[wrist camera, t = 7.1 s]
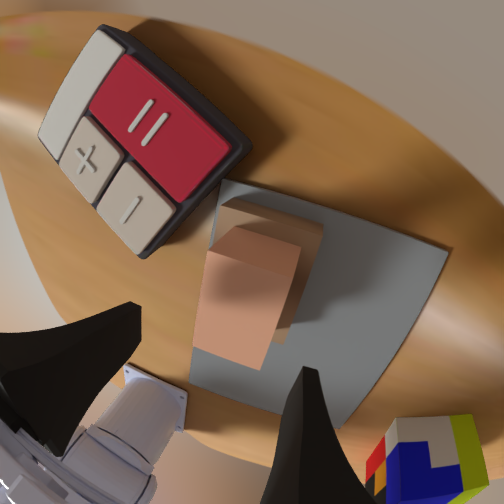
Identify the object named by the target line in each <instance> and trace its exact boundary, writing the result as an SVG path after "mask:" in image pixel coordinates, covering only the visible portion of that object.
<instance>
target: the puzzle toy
mask: <svg viewBox="0 0 504 504" xmlns="http://www.w3.org/2000/svg"><path fill="white" fill-rule="evenodd" d="M488 485H489V480H488V475H487V470H486V465H485V461H484V456H483V452H482V448H481V444H480V440H479V437H478V433H477V430H476V426H475V423H474V420H473V416H472V414H463V415H452V416H436V417H396V418H395V419H394V421H393V423H392V424H391V426H390V427H389V429H388V431H387V432H386V434H385V435H384V437H383V438H382V440H381V441H380V443H379V444H378V446H377V447H376V449H375V450H374V452H373V453H372V454H371V456H370V457H369V459H368V460H367V461H366V484H365V489H366V490H367V492H368V493H369V494H370V496H371V497H372V498H373V499H374V500H375V502H376V503H377V504H464V503H465V502H467V501H468V500H470V499H471V498H472V497H474V496H475V495H477V494H478V493H479V492H480V491H482V490H483V489H484V488H486V487H487V486H488Z"/></svg>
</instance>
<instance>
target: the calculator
mask: <svg viewBox="0 0 504 504" xmlns="http://www.w3.org/2000/svg"><path fill="white" fill-rule="evenodd" d="M38 138H39V140H40V141H41V142H42V144H43V145H44V147H45V148H46V149H47V151H48V152H49V153H50V154H51V156H52V157H53V158H54V160H55V161H56V162H57V164H58V165H59V166H60V168H61V169H62V170H63V172H64V173H65V174H66V175H67V177H68V178H69V179H70V180H71V182H72V183H73V184H74V185H75V187H76V188H77V189H78V190H79V191H80V193H81V194H82V195H83V196H84V197H85V199H86V200H87V201H88V202H89V203H90V204H91V205H92V206H93V207H94V209H95V210H96V211H97V212H98V214H99V215H100V216H101V217H102V218H103V219H104V221H105V222H106V223H107V224H108V225H109V226H110V227H111V228H112V229H113V231H114V232H115V233H116V234H117V235H118V236H119V237H120V238H121V239H122V240H123V241H124V243H125V244H126V245H127V246H128V247H129V248H130V249H131V250H132V251H133V252H134V253H135V254H136V255H137V256H138V257H139V258H141V259H146V258H147V257H149V256H150V255H151V254H152V253H154V252H155V251H156V250H157V249H158V248H160V247H161V246H162V245H163V244H164V243H165V242H166V241H167V239H168V238H169V237H170V236H171V235H172V234H173V233H174V231H175V230H176V229H177V228H178V227H179V226H180V225H181V224H182V222H183V221H184V220H185V219H186V218H187V217H188V216H189V215H190V214H191V212H192V211H193V210H194V209H195V208H196V207H197V206H198V205H199V204H200V203H201V202H202V200H203V199H204V198H205V197H206V196H207V195H208V194H209V193H210V192H211V191H212V190H213V189H214V188H215V187H216V186H217V184H218V183H219V182H220V181H221V180H222V179H223V178H224V177H225V176H226V175H227V174H228V173H229V172H230V171H231V170H232V169H233V168H234V167H235V166H236V165H237V164H238V163H239V162H240V161H241V160H242V159H243V158H244V157H245V156H246V155H247V154H248V153H249V152H250V151H251V149H252V146H253V145H252V142H251V141H250V139H249V138H248V137H247V136H246V135H245V134H244V133H243V132H242V131H241V130H239V129H238V128H237V127H236V126H235V125H234V124H233V123H232V122H231V121H230V120H229V119H228V118H227V117H226V116H225V115H224V114H223V113H222V112H221V111H220V110H219V109H217V108H216V107H215V106H214V105H213V104H212V103H211V102H210V101H209V100H208V99H207V98H205V97H204V96H203V95H202V94H201V93H200V92H199V91H198V90H196V89H195V88H194V87H193V86H192V85H191V84H190V83H188V82H187V81H186V80H185V79H184V78H183V77H181V76H180V75H179V74H178V73H177V72H176V71H174V70H173V69H172V68H171V67H170V66H168V65H167V64H166V63H165V62H163V61H162V60H161V59H160V58H158V57H157V56H156V55H155V54H154V53H153V52H152V51H151V50H150V49H149V48H147V47H146V46H145V45H144V44H142V43H141V42H140V41H139V40H137V39H136V38H135V37H133V36H132V35H131V34H129V33H127V32H125V31H122V30H119V29H117V28H114V27H111V26H108V25H105V24H102V25H100V26H99V27H98V28H97V29H96V31H95V32H94V34H93V35H92V36H91V38H90V39H89V41H88V42H87V44H86V45H85V47H84V48H83V50H82V51H81V53H80V54H79V56H78V57H77V59H76V60H75V62H74V64H73V65H72V67H71V69H70V70H69V72H68V74H67V75H66V77H65V79H64V81H63V83H62V84H61V86H60V88H59V90H58V92H57V94H56V96H55V97H54V99H53V101H52V103H51V105H50V107H49V110H48V112H47V114H46V116H45V118H44V120H43V122H42V125H41V127H40V129H39V132H38Z"/></svg>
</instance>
